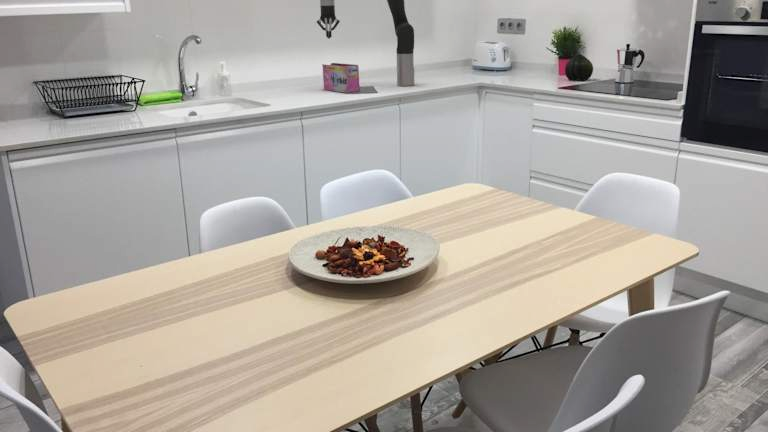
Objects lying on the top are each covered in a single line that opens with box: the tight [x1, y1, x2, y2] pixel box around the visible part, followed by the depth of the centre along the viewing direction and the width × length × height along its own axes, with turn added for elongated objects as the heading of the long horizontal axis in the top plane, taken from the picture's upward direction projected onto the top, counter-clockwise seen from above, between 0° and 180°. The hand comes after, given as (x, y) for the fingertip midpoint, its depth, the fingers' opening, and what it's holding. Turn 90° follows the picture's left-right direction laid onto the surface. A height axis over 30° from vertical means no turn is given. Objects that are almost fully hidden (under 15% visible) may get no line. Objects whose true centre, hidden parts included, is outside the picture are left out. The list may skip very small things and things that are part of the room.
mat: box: [351, 85, 378, 95], centre depth 364 cm, size 13×26×1 cm, turn 6°
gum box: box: [322, 62, 361, 94], centre depth 361 cm, size 24×8×14 cm, turn 39°
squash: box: [564, 53, 594, 82], centre depth 379 cm, size 14×15×15 cm
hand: (328, 38), depth 369 cm, fingers closed
